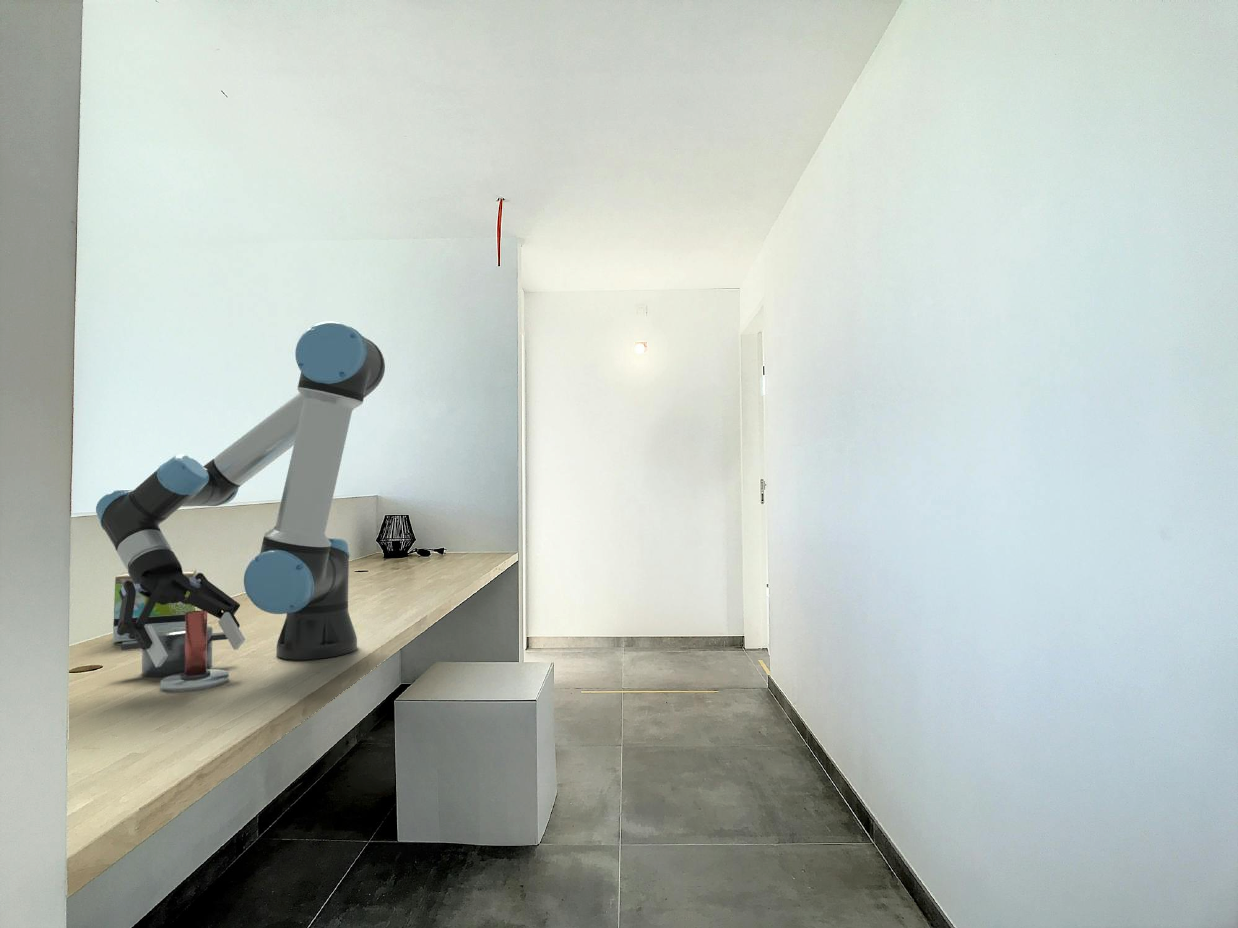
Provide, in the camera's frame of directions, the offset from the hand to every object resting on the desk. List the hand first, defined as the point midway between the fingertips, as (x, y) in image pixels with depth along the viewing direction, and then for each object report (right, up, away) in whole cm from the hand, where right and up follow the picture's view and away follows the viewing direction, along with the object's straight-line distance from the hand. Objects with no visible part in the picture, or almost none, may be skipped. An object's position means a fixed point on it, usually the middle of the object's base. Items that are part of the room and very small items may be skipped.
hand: (203, 652), depth 119 cm
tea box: (-36, -8, +42) cm, 55 cm away
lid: (-2, -5, +1) cm, 6 cm away
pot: (-11, -6, +11) cm, 16 cm away
